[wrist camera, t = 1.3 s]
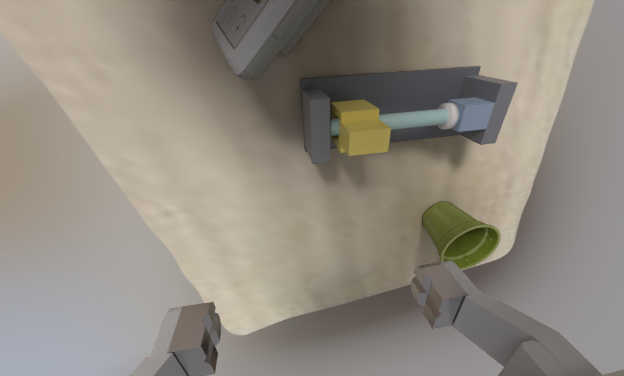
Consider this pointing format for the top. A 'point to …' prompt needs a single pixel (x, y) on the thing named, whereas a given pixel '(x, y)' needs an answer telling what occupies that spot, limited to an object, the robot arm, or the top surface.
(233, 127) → the top surface
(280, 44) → the digital clock
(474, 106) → the grey rectangular frame
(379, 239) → the top surface
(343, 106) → the yellow stepped block
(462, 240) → the plant pot
